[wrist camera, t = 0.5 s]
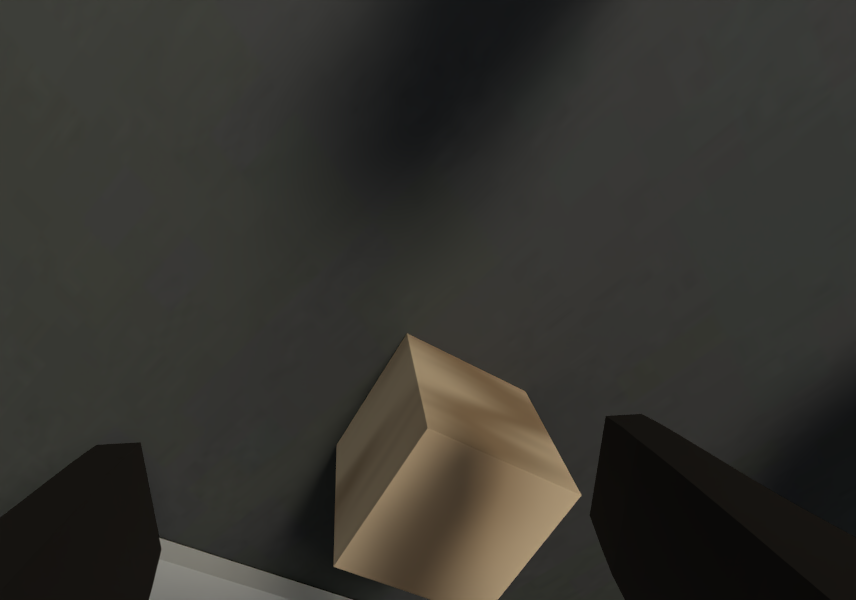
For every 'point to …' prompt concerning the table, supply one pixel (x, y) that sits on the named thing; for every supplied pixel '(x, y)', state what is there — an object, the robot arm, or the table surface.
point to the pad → (222, 579)
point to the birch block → (445, 480)
